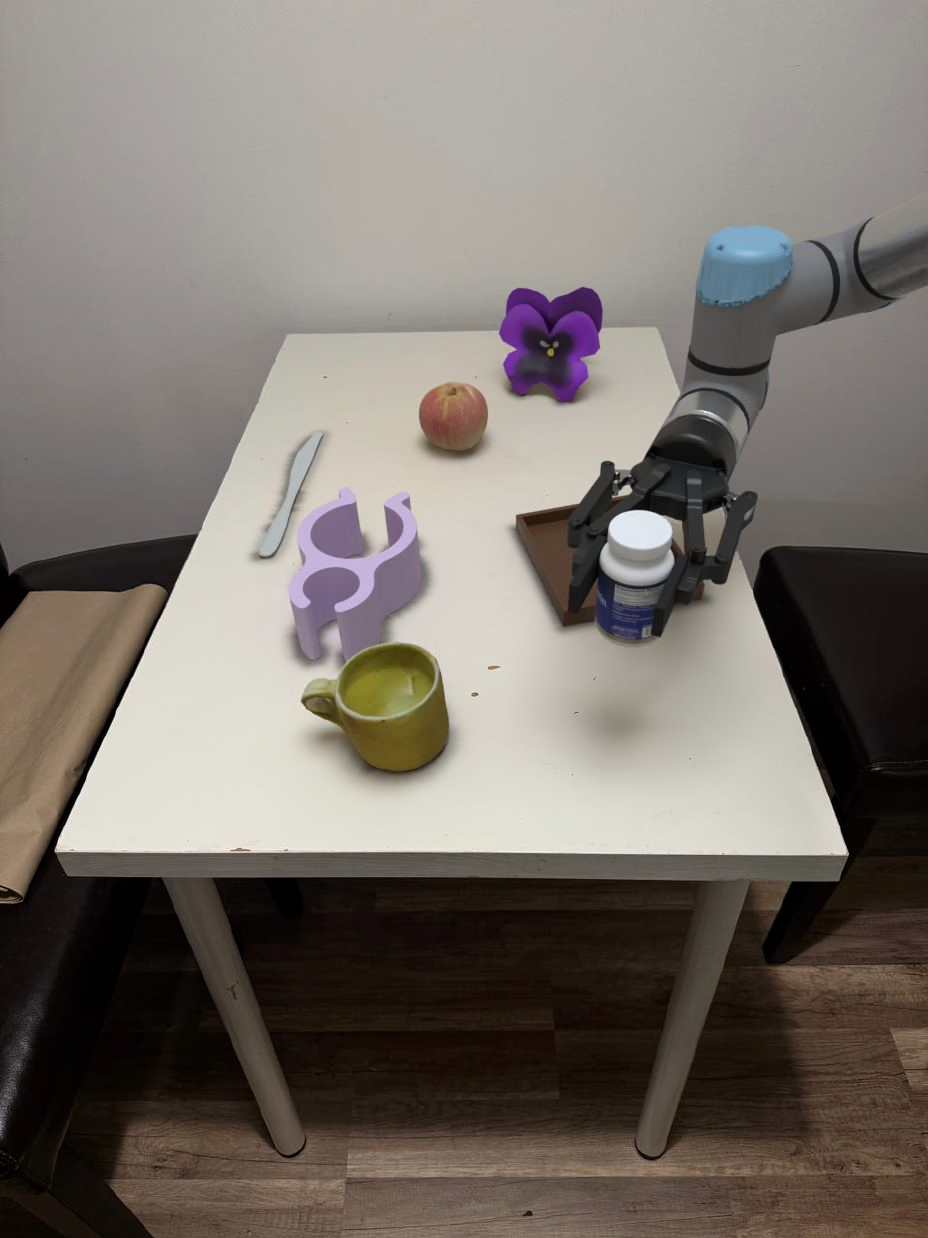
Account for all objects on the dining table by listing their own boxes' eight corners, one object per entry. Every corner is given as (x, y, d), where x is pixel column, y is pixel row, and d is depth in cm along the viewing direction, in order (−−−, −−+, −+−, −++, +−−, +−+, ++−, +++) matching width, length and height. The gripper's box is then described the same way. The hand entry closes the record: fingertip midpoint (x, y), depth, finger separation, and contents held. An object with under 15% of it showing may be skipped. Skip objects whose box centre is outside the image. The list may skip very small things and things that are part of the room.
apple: (474, 466, 113) (472, 409, 108) (410, 454, 116) (405, 398, 110) (498, 432, 119) (497, 377, 114) (437, 421, 122) (433, 367, 116)
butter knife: (248, 553, 101) (273, 553, 100) (306, 431, 120) (327, 431, 120) (249, 557, 101) (274, 557, 100) (307, 435, 121) (328, 434, 120)
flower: (515, 391, 137) (486, 389, 125) (531, 289, 133) (503, 276, 121) (607, 406, 133) (586, 406, 121) (627, 300, 129) (607, 289, 116)
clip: (391, 668, 87) (384, 616, 82) (270, 655, 89) (257, 603, 85) (434, 544, 101) (430, 493, 97) (330, 535, 104) (321, 485, 99)
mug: (476, 682, 83) (441, 628, 75) (453, 787, 78) (414, 742, 70) (358, 677, 87) (313, 626, 79) (330, 776, 82) (279, 732, 74)
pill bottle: (596, 600, 75) (604, 502, 68) (665, 605, 74) (680, 507, 67) (591, 647, 71) (599, 548, 64) (664, 654, 70) (680, 554, 63)
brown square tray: (702, 599, 93) (705, 583, 91) (563, 626, 91) (563, 611, 89) (639, 506, 105) (641, 492, 104) (515, 529, 103) (515, 514, 102)
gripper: (793, 508, 80) (735, 682, 64) (593, 466, 86) (498, 615, 71) (812, 435, 75) (753, 605, 59) (598, 395, 81) (496, 540, 66)
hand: (615, 610), depth 65 cm, fingers closed on pill bottle, 6 cm apart
